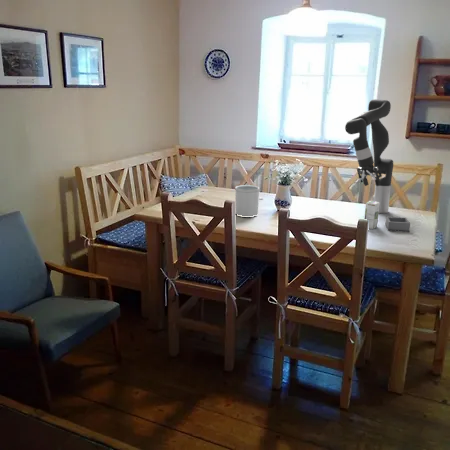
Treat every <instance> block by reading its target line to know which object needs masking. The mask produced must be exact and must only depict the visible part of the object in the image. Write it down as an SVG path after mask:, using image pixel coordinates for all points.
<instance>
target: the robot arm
mask: <svg viewBox="0 0 450 450" xmlns="http://www.w3.org/2000/svg"><path fill="white" fill-rule="evenodd" d="M391 107H392V105H391V101H390V100H387V99H377V98H375V99H371V100H369V103H368V106H367V109H368V110H367V111H364V112H363V113H361V114H360V115H358V116H357V117H354V118H352V119H350V120H348V121H347V122H346V124H345V125H344V129H345V132H346V133H347V134H348V135H355V134H359V135H358V137H355V138H354V139H353V141H352V143H353V147H354V150H355V156H356V160H357V163H358V165H359V166H358V167H357V168H356V171H357V174H358V179H361V180H362V182H363V185H364V186H365V187H367V186H369V181H368V177H367V176H370V177H371V178H373V179H374V183H375V184H374V192H373V193H374V194H373V196H372V200H371V201H376V202H379V203H380V205H379V214H387V213H389V208H390V207H389V206H390V197H391V196H390V195H391V185H392V184H391V183H392V177H393V171H394V160H393V159H391V158H390V159H389V158H381V156H382V154H383V152H384V151H385V150H386V149H387V147H388V145H389V144H390V137H389V136H390V135H389V131H388V130H387V128H386V127H385V125H384V124H383V123H382V122H381V120H380V119H383V118H386V117H387V116H388V115H389V114H390V112H391ZM368 126H370V128H371V141H372V147H373V153H372V152H371V148H370V145H369V141H368V136H367V135H368V133H367V131H368V128H367V127H368ZM382 175H385V176H384V177H382Z"/></svg>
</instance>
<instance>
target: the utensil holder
mask: <svg viewBox="0 0 450 450" xmlns="http://www.w3.org/2000/svg"><path fill="white" fill-rule="evenodd" d="M234 189H235V215H236V214H238V215H242V216H253V215H257V214H258V215H259V202H260V201H259V199H260V197H259V196H260V187H259V186H256V185H252V184H251V185H249V184H244V185H243V184H242V185H241V184H240V185H236V186H235V187H234Z"/></svg>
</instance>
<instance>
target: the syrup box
mask: <svg viewBox="0 0 450 450" xmlns="http://www.w3.org/2000/svg"><path fill="white" fill-rule="evenodd" d="M379 205H380V203H379V202H376V201H372V200H370V201H367V202H366V203H365V207H364V208H365V210H364V219H367V220H369V228H368V229H371V230H372V229H373V230H374V229H375V228H377V227H378V224H379V223H378V222H379V215H380V213H379Z"/></svg>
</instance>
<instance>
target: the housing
mask: <svg viewBox="0 0 450 450" xmlns="http://www.w3.org/2000/svg"><path fill="white" fill-rule="evenodd" d="M384 225H385V227H386V230H387V231H389V232H408V233H410V226H411V223H410V221H409V219H408V218H407V217H401V216H399V217H398V216H385V223H384Z"/></svg>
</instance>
